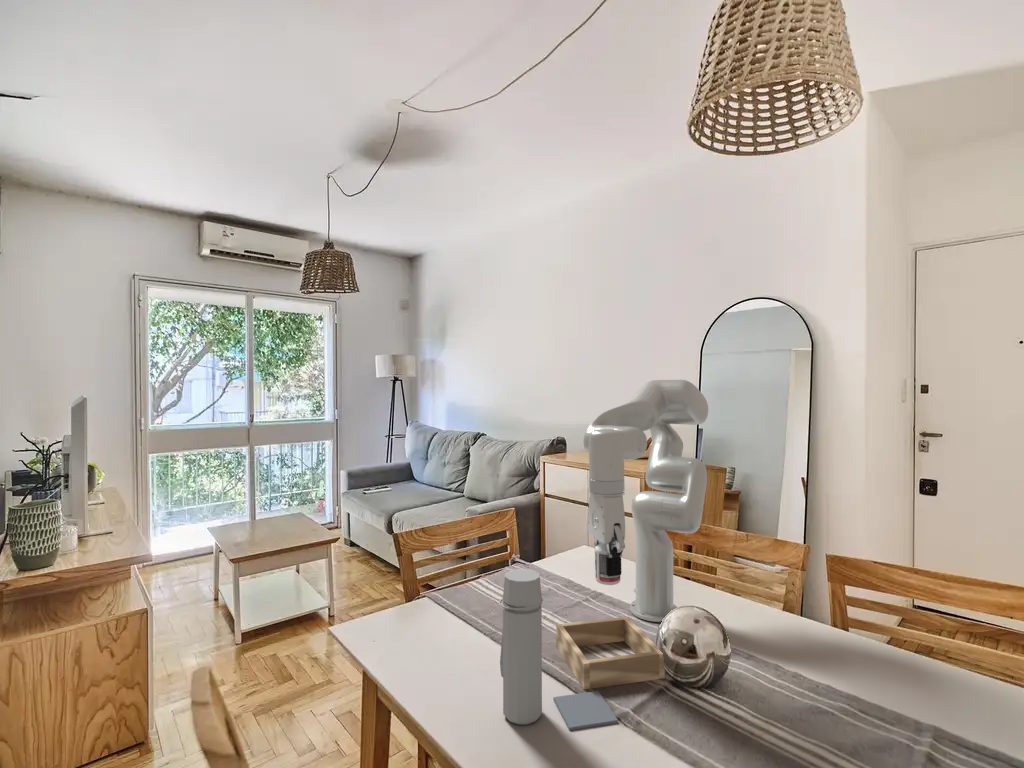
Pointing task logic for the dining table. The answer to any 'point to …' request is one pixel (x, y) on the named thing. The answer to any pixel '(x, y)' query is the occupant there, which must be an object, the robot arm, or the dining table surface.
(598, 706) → the rubber mat
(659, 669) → the oak crate
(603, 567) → the pill bottle
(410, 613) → the dining table surface
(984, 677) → the dining table surface
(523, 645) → the water bottle
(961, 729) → the dining table surface
